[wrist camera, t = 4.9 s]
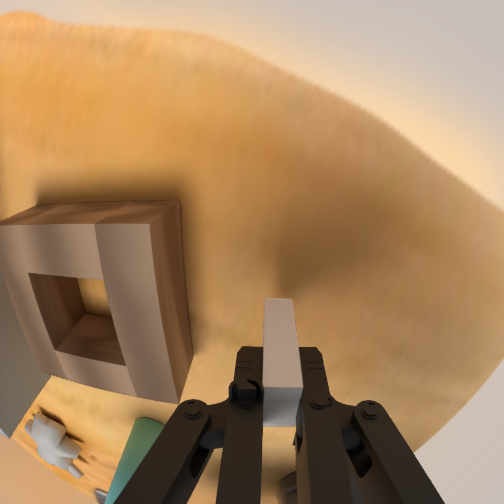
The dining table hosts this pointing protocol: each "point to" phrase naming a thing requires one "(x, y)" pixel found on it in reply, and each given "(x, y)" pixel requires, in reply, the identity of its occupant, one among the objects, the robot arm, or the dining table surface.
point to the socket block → (117, 288)
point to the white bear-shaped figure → (54, 443)
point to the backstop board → (15, 367)
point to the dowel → (134, 453)
